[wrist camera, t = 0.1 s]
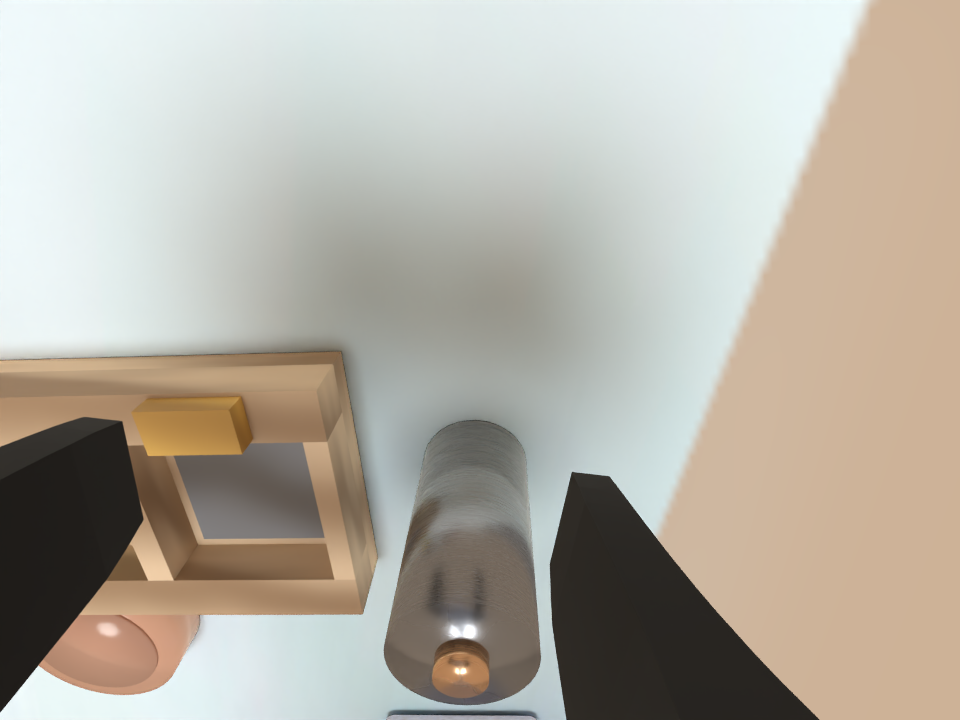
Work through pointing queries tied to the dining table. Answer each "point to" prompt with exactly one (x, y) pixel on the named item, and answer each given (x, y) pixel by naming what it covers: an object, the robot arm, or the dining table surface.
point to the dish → (121, 651)
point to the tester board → (220, 478)
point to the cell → (467, 573)
